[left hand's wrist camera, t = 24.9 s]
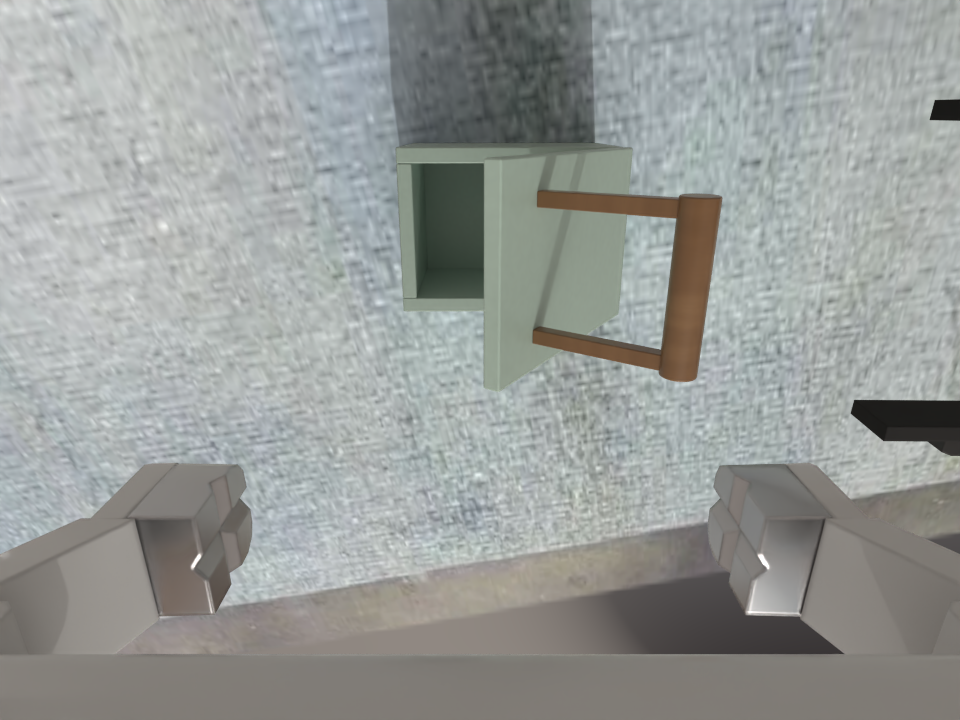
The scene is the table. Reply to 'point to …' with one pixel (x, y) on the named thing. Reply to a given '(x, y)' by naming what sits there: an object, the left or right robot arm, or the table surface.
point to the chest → (449, 219)
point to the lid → (583, 263)
